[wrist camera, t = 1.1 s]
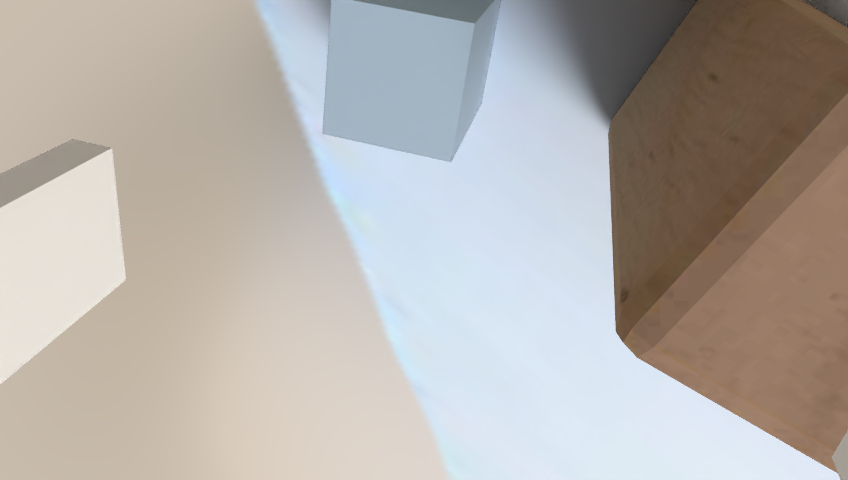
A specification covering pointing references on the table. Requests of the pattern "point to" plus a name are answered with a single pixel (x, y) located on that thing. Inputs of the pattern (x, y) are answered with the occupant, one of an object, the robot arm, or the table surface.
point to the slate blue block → (407, 72)
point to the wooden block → (740, 216)
